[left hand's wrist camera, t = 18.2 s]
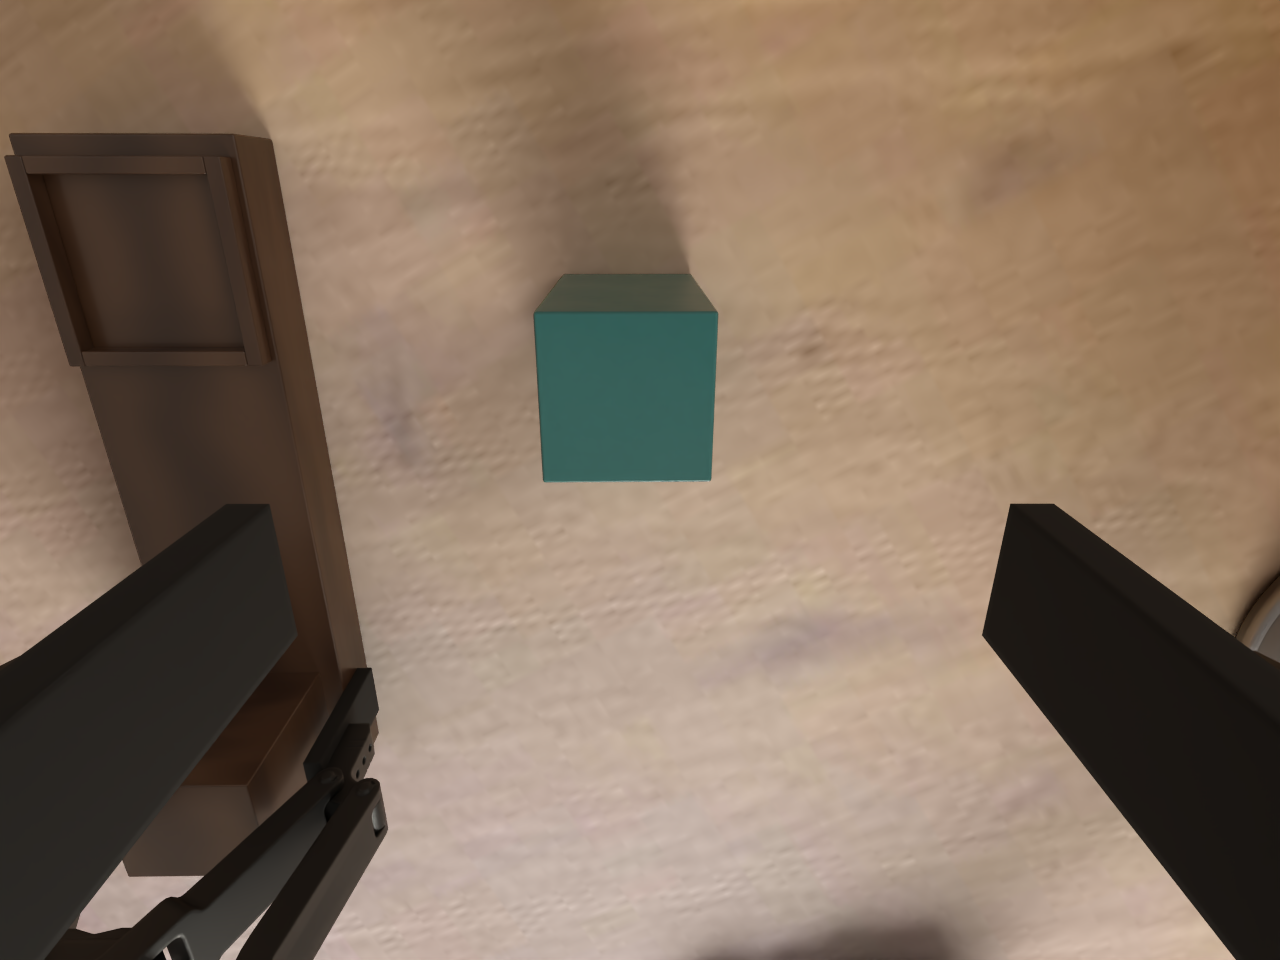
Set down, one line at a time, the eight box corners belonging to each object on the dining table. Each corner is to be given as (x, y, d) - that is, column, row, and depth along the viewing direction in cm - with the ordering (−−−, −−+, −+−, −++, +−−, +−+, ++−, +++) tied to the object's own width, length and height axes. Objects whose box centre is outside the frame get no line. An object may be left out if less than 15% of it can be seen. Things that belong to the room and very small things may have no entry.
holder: (272, 139, 28) (96, 114, 19) (379, 733, 39) (302, 900, 30) (68, 138, 28) (-212, 112, 18) (235, 734, 39) (114, 902, 30)
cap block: (691, 273, 30) (718, 311, 21) (688, 398, 32) (711, 482, 23) (562, 273, 30) (532, 311, 21) (567, 398, 32) (542, 483, 23)
